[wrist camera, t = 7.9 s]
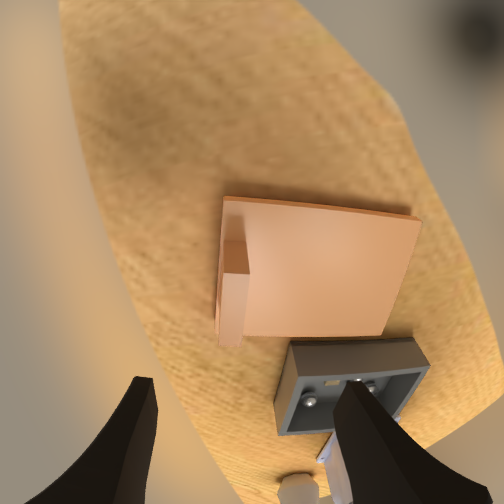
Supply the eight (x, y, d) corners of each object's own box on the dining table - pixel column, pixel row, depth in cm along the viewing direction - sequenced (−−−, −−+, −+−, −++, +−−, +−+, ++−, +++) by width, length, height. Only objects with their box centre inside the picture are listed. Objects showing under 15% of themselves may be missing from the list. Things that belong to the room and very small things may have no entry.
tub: (380, 396, 28) (392, 423, 24) (273, 403, 26) (277, 435, 23) (413, 337, 24) (430, 365, 21) (290, 341, 23) (298, 376, 20)
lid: (373, 321, 23) (398, 367, 19) (215, 318, 22) (213, 372, 17) (410, 212, 19) (452, 246, 14) (223, 191, 18) (222, 226, 13)
